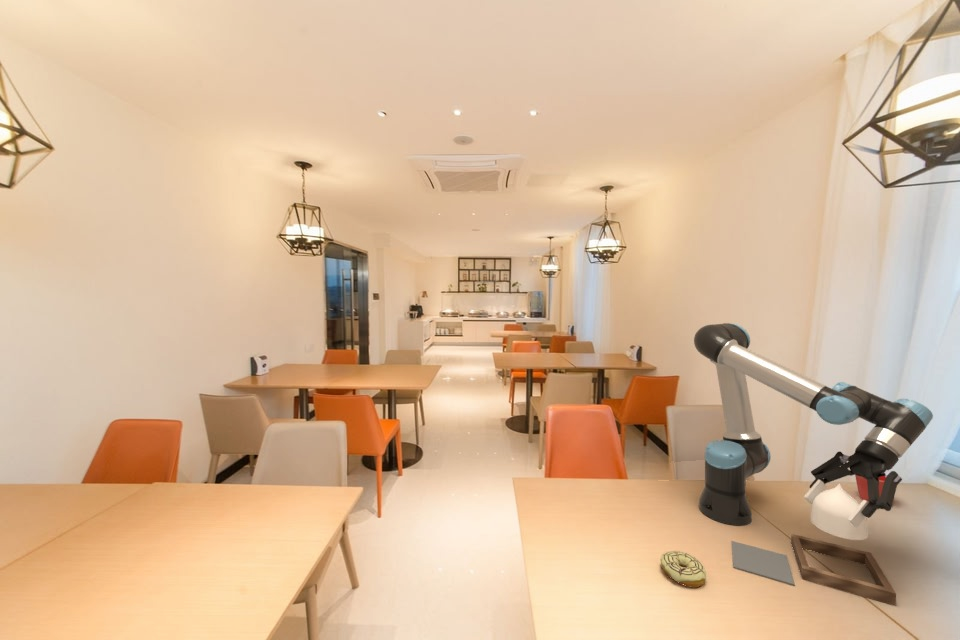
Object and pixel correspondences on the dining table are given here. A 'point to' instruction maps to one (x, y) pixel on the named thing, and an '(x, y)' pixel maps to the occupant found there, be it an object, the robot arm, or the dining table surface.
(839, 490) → the teardrop
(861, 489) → the flower pot
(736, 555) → the grey mat
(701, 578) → the decorated donut
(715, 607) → the dining table surface
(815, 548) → the walnut collar
